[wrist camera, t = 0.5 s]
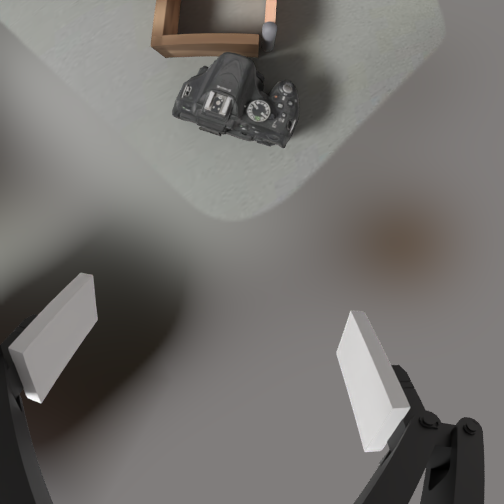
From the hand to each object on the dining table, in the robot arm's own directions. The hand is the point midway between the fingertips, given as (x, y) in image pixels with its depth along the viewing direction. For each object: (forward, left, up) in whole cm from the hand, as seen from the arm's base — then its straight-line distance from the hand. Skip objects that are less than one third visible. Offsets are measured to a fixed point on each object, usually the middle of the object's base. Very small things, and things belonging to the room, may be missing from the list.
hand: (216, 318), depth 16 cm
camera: (-12, -1, -26) cm, 29 cm away
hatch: (-25, +2, -25) cm, 36 cm away
